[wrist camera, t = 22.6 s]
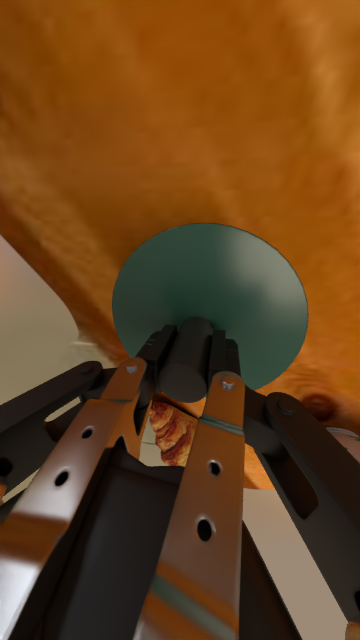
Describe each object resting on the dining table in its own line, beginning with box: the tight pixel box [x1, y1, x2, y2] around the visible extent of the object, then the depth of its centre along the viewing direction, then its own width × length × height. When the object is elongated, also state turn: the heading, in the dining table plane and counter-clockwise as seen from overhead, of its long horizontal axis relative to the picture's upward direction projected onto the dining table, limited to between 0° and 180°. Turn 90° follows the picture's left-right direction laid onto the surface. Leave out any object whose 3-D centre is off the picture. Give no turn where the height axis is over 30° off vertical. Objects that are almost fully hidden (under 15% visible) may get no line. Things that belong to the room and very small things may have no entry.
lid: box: [112, 223, 309, 403], centre depth 10 cm, size 13×13×6 cm
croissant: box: [149, 401, 198, 467], centre depth 29 cm, size 21×10×8 cm, turn 38°
